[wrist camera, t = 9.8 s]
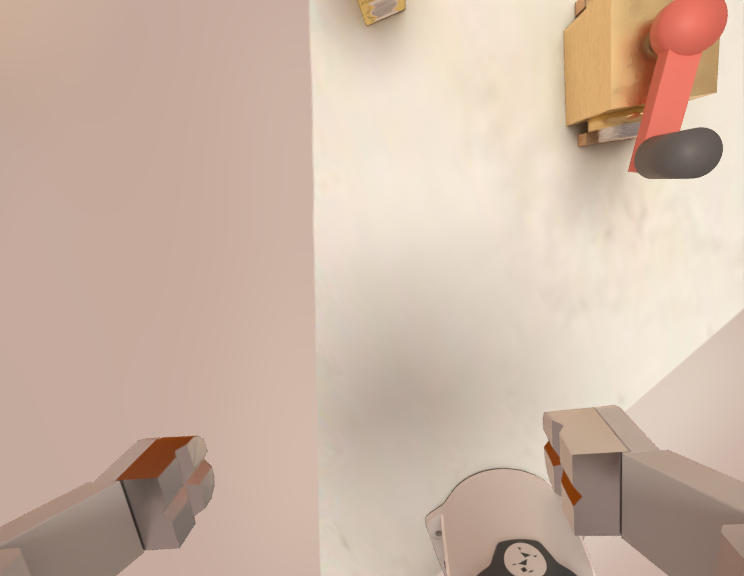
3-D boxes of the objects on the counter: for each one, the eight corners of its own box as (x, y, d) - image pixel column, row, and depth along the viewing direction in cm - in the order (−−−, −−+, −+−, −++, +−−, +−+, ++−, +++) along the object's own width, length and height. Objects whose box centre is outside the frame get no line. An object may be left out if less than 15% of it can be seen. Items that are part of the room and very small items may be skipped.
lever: (716, 1, 26) (793, -44, 21) (665, 181, 29) (720, 181, 24) (658, -3, 26) (718, -49, 21) (613, 176, 29) (657, 175, 24)
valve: (645, 136, 38) (728, 120, 28) (566, 148, 39) (619, 136, 29) (648, -11, 35) (741, -87, 25) (563, 5, 36) (620, -62, 26)
